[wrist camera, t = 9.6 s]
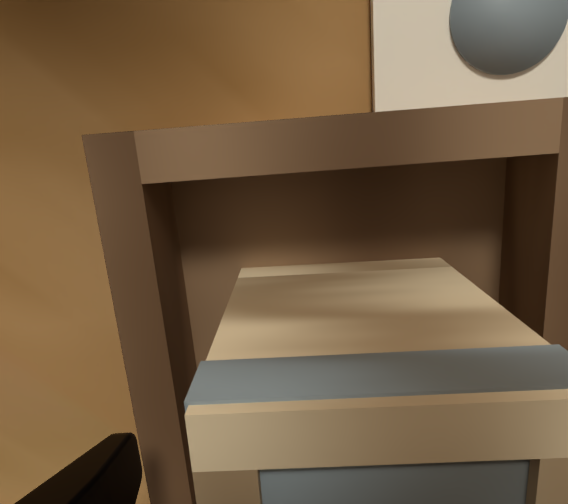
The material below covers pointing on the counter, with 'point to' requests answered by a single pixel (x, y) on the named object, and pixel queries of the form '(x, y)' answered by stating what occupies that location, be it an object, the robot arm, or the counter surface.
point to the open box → (317, 227)
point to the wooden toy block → (376, 392)
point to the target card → (467, 52)
